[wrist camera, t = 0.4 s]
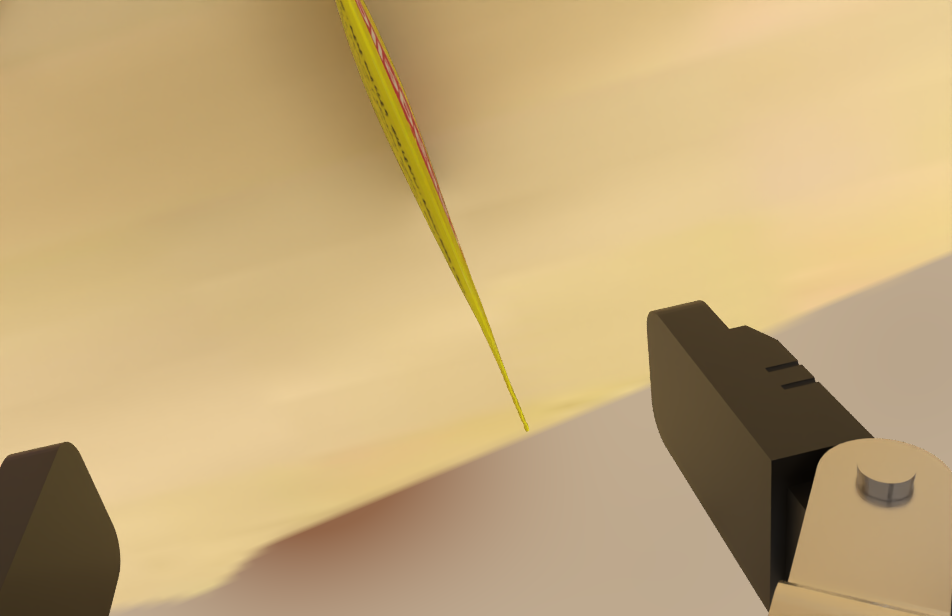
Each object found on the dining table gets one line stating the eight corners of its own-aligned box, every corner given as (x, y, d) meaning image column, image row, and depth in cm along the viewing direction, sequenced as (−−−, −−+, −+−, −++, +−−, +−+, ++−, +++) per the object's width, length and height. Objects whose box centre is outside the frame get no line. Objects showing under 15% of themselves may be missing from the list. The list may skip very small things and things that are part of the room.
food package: (441, 186, 41) (546, 426, 23) (419, 195, 41) (507, 442, 23) (296, -164, 34) (292, -197, 16) (269, -152, 34) (235, -173, 16)
